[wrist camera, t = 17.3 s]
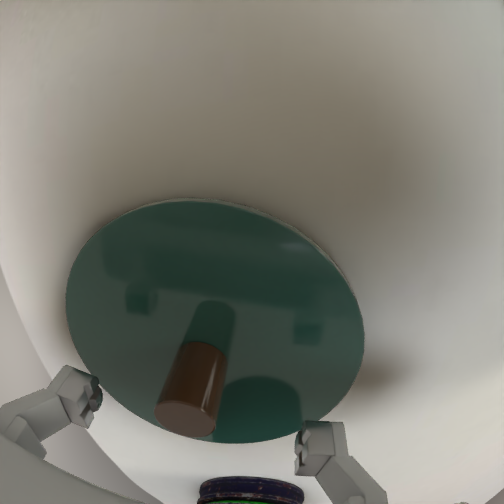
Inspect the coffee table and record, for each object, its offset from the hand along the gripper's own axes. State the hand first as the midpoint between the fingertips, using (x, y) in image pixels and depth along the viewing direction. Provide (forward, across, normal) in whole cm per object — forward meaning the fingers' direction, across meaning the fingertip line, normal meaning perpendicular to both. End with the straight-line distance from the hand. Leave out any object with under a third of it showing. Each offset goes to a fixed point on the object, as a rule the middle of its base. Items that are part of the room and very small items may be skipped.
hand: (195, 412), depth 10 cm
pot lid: (+4, 0, 0) cm, 4 cm away
